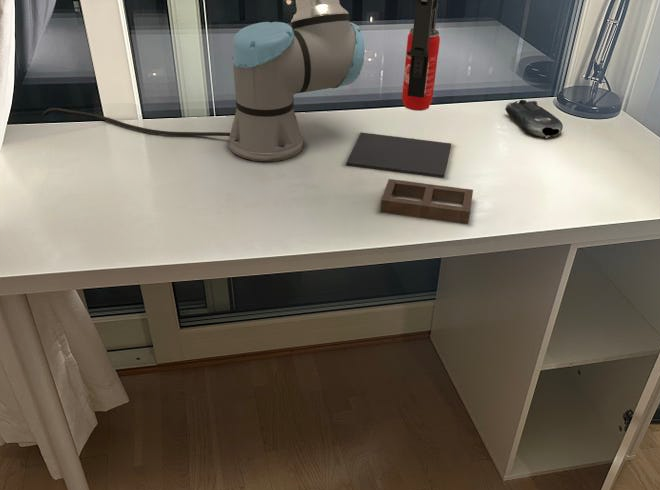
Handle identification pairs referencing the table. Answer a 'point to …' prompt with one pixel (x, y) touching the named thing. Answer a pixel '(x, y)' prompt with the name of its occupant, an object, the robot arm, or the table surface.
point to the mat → (400, 154)
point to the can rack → (427, 201)
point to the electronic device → (534, 118)
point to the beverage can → (425, 102)
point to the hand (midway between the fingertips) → (418, 89)
